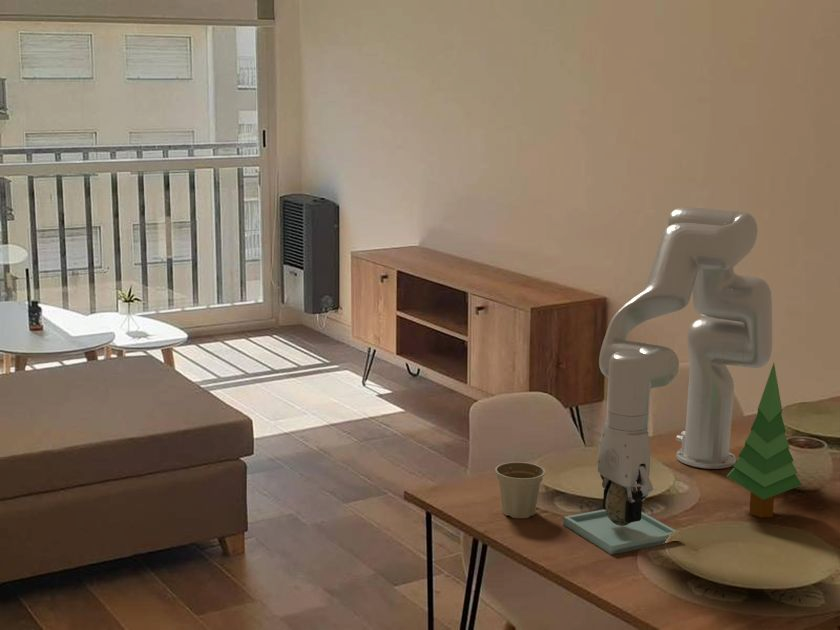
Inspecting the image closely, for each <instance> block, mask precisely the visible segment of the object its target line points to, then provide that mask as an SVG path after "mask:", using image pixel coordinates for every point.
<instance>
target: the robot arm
mask: <svg viewBox="0 0 840 630" xmlns="http://www.w3.org/2000/svg"><path fill="white" fill-rule="evenodd" d="M757 236H758V225H757V221H756V219H755V217H754V216H753V215H752V214H750V213H749V212H744V211H735V210H724V209H715V208H707V207H705V208H703V207H694V206H693V207H692V206H681V207H678V208H675V209H673V210H671V212H670V214H669V215H668V220H667V227H666V228H665V229H664V230H663V232H662V234H661V237H660V239H659V240H660V241H659V243H658V245H657V249H656V252H655V256H654V259H653V262H652V265H651V268H650V271H649V275H648V278H647V281H646V285H645V287H644V289H643V290H642V291H641V292H640V293H638V294H637V295H635V296H634V297H632V298H631V299H629V300H628V301H627V302H626V303H624V305H623V306H622V307H621V308H620V309H619V310H618V311H616V313H615V314H614V315H613V316H612V318H611V320H610V321H609V324H608V326H607V329H606V332H605V336H604V338H603V341H602V344H601V348H600V352H599V358H598V365H599V369H600V372H601V373H602V375H603V376H605V377H606V378H607V379H608V380H607V397H606V417H605V422H604V424H603V427H602V430H601V434H600V440H599V447H598V454H597V461H596V466H597V472H598V474H599V476H600V478H601V480H602V482H601V486H602V488H603V497H602V499H603V500H602V510H606V497H607V493H608V490H609V488H610V485H611V483H612V481H613V482H615V483H617V484H619V485H620V486H623V487H625V488H627V493H628V499H629V501H626V511H625V522H627V523H631V522H636V521H640V520H641V514H642V512H643V509H642V508H643V501H645V500H646V498H647V497H648V496H649V494H651V492H653V491H654V487H653V484H652V482H651V480H650V472H651V471H650V470H651V468H650V467H651V453H650V452H651V447H650V434H649V420H650V419H649V418H650V402H651V401H650V400H651V399H650V398H651V389H658V388H663V387H666V386H668V385H669V384H671V383H672V382H673V381H674V379H676V377H677V375H678V372H679V367H680V364H679V363H680V362H679V361H680V360H679V358H678V355H677V354H676V352H675V351H674V350H673V349H671V348H669V347H667V346H664V345H660V344H659V345H657V344H653V343H645V342H639V341H632V340H626V339H627V337H628V336H629V334H631V332H632V330H634V329H635V328H636V327H637V326H639V325H641V324H643V323H644V322H647V321H649V320H652V319H655V318H658V317H663V316H667V315H669V314H672V313H675V312H678V311H681V310H683V309H685V308H686V307H687V306H688V305H689V303H690V300H691V297H692V302H693V303H692V304H693V307H694V309H695V312H696V313H697V314H699V315H700V316H702V317H701V318H700V317H699V318H697V319H696V320H694V321H693V322H692V323H691V324H690V325H689V328H688V331H687V337H686V338H687V351H688V364H689V365H688V366H689V375H688V389H687V403H686V419H685V430H683V431H681V432H680V434H677V435H676V437H675V441H677V442H679V443H681V448H679V449H678V450H677V451H676V454H675V455H676V456H675V457H676V459H677V460H678V461H679V462H681V463H682V464H685V465H687V466H690V467H694V468H700V469H708V470H718V469H720V470H721V469H727V468H730V467H733V466H734V464H735V463H736V462H737V460H736V459H737V458H736V456H735V454H734V453H732V452H730V443H731V442H730V441H731V430H732V428H731V427H732V417H733V406H734V405H733V404H734V392H735V384H734V379H733V376H732V374H731V372H730V370H729V368H728V367H727V365H728V366H735V367H741V368H750V369H761V368H763V367H765V366H766V365H767V364H769V361H770V360H771V356H772V351H773V301H772V299H773V298H772V292H771V291H772V290H771V288H770V285H769V284H768V282H767V281H765V280H764V279H762V278H761V277H757V276H749V275H740V274H737V273H735V270H734V267H736V266H737V265H738V264H739V263H740V262H741V261H742V260H743V259H744V258H745V257H747V256H748V254H749V253H750V252H752V249H753V248H754V246H755V244H756V241H757V238H758V237H757ZM634 487H636V489H637V492H636V493H635V494H634V491H633V488H634Z"/></svg>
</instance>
